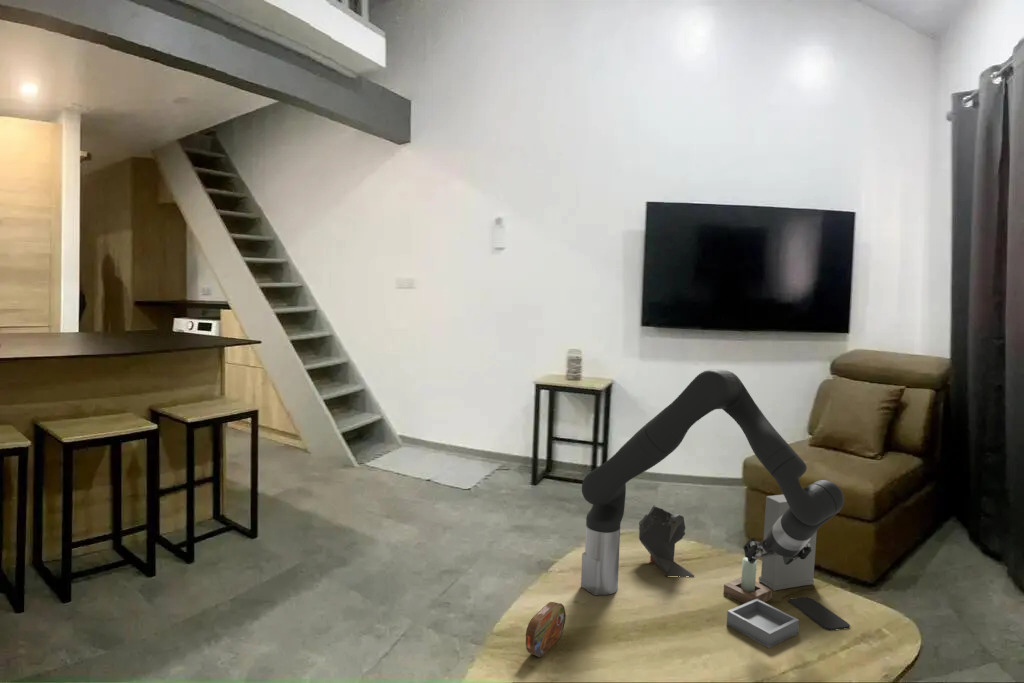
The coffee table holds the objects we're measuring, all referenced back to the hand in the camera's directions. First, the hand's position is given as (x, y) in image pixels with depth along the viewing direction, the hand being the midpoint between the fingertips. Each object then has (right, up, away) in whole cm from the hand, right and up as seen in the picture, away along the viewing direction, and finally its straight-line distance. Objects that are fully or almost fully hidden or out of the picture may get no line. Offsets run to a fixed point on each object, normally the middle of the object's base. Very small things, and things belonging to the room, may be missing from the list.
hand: (767, 560), depth 152 cm
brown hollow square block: (0, -14, +13) cm, 19 cm away
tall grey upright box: (+14, -14, +21) cm, 29 cm away
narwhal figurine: (-19, -12, +30) cm, 38 cm away
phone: (+15, -16, +5) cm, 22 cm away
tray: (-3, -16, -3) cm, 16 cm away
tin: (-56, -15, -12) cm, 59 cm away
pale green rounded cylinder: (0, -14, +13) cm, 19 cm away
